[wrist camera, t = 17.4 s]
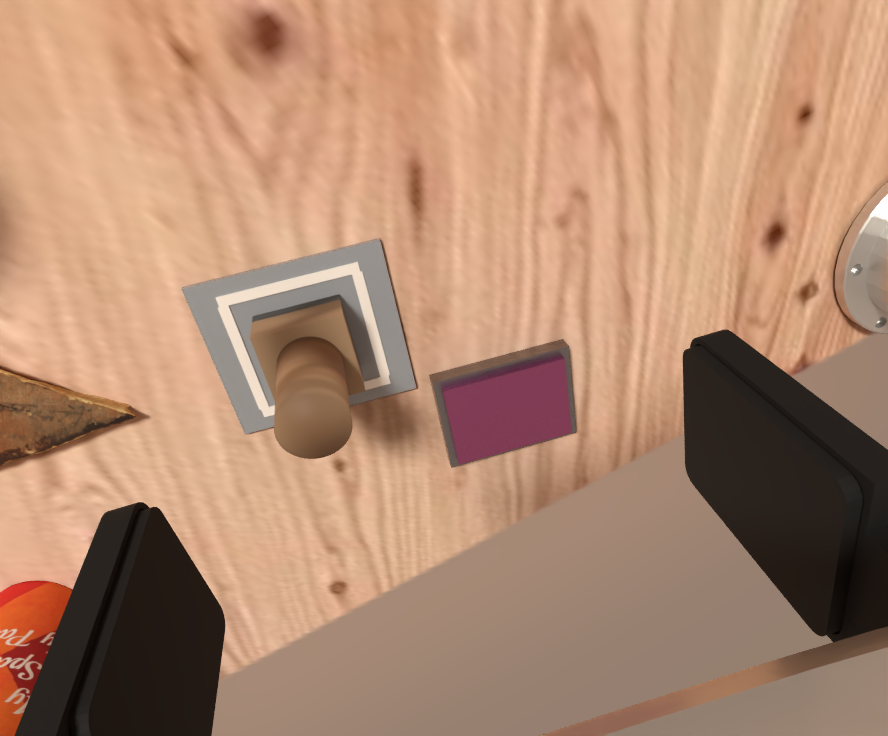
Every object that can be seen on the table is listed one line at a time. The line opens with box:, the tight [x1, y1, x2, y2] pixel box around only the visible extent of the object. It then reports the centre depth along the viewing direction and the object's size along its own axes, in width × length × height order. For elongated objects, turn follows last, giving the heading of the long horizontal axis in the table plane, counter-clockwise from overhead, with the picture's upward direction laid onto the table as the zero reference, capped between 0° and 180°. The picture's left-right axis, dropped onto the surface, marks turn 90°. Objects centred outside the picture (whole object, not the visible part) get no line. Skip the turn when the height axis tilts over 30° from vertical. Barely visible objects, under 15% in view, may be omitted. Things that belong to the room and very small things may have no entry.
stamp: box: [250, 294, 366, 459], centre depth 33 cm, size 5×5×9 cm
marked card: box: [182, 238, 416, 434], centre depth 37 cm, size 11×10×1 cm
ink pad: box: [429, 339, 576, 468], centre depth 42 cm, size 9×7×2 cm
